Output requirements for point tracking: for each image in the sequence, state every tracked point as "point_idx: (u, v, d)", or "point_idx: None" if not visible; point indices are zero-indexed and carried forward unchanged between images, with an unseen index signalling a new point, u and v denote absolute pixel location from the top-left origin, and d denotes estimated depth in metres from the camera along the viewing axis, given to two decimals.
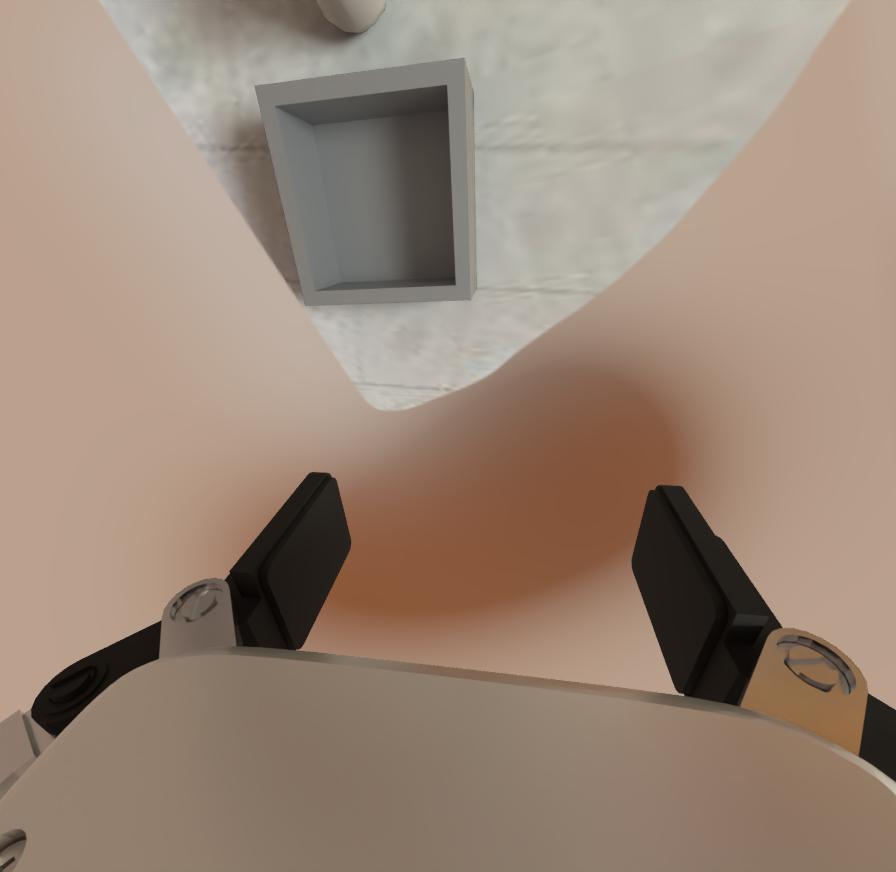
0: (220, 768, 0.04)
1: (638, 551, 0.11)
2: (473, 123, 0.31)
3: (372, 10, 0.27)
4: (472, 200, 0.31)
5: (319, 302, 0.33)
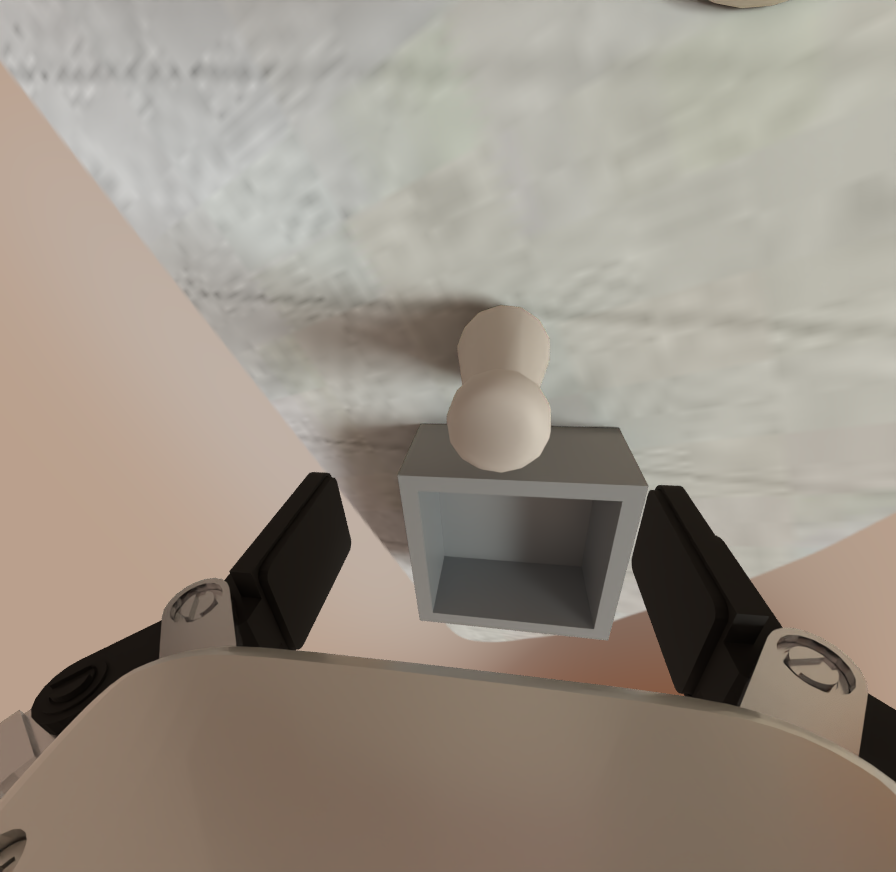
0: (220, 768, 0.04)
1: (638, 551, 0.11)
2: None
3: None
4: None
5: (436, 620, 0.31)
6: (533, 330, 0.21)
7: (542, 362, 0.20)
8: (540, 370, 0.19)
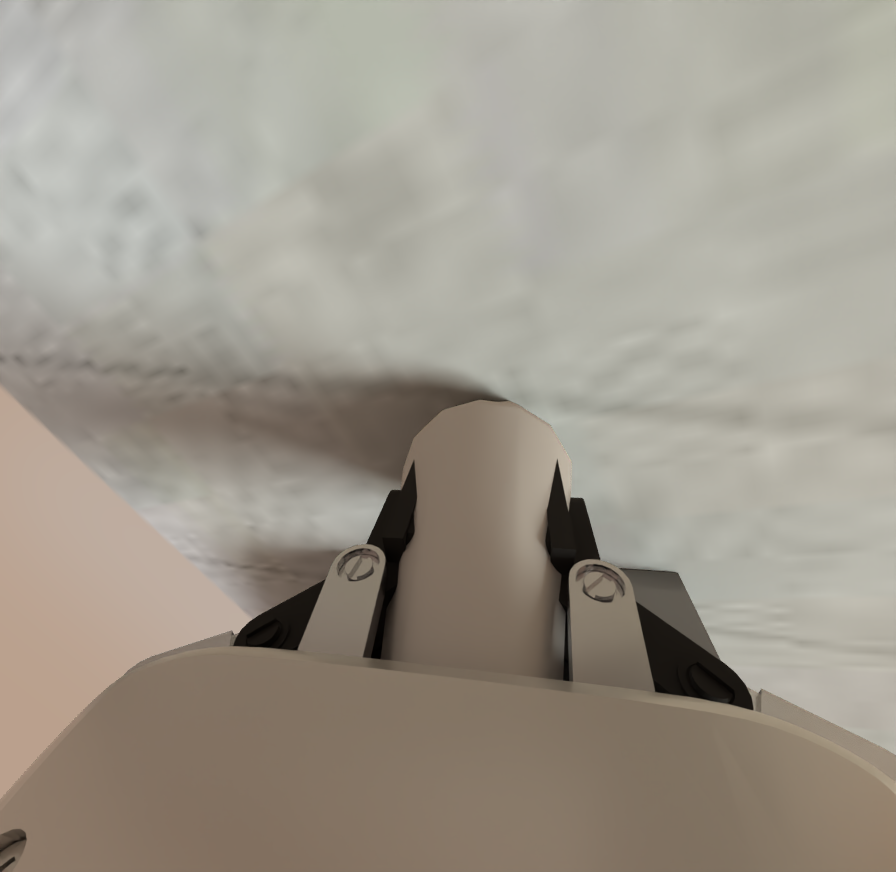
0: (220, 768, 0.04)
1: None
2: None
3: None
4: None
5: None
6: (544, 467, 0.10)
7: None
8: None
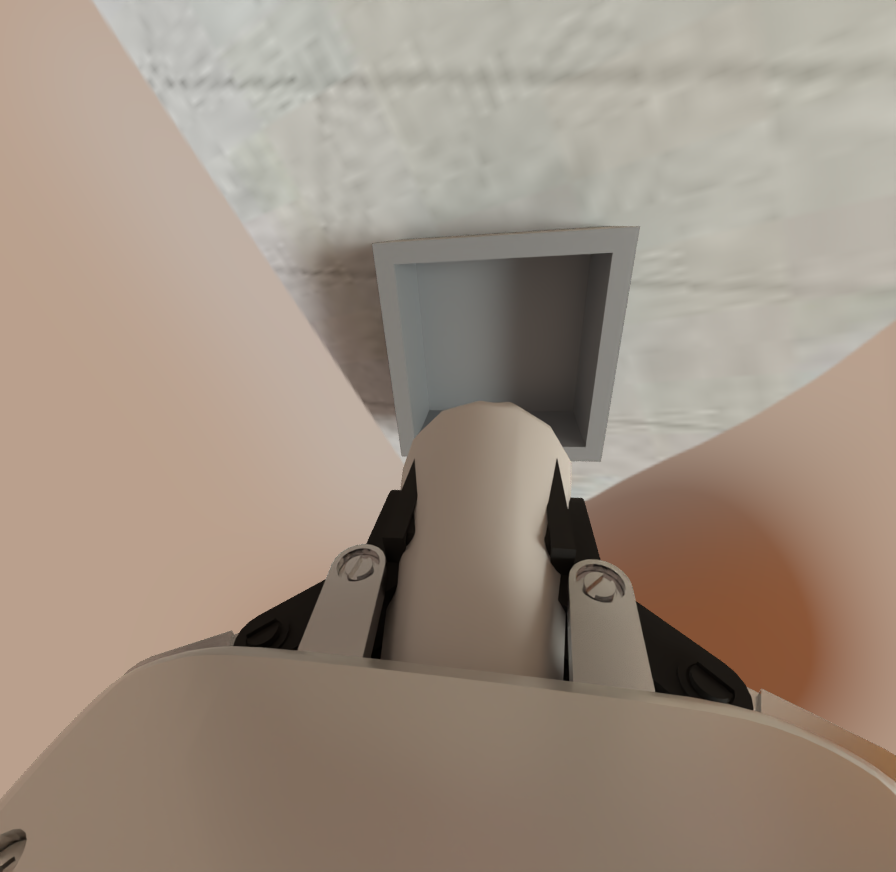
0: (220, 768, 0.04)
1: None
2: None
3: None
4: None
5: None
6: (544, 468, 0.10)
7: None
8: None
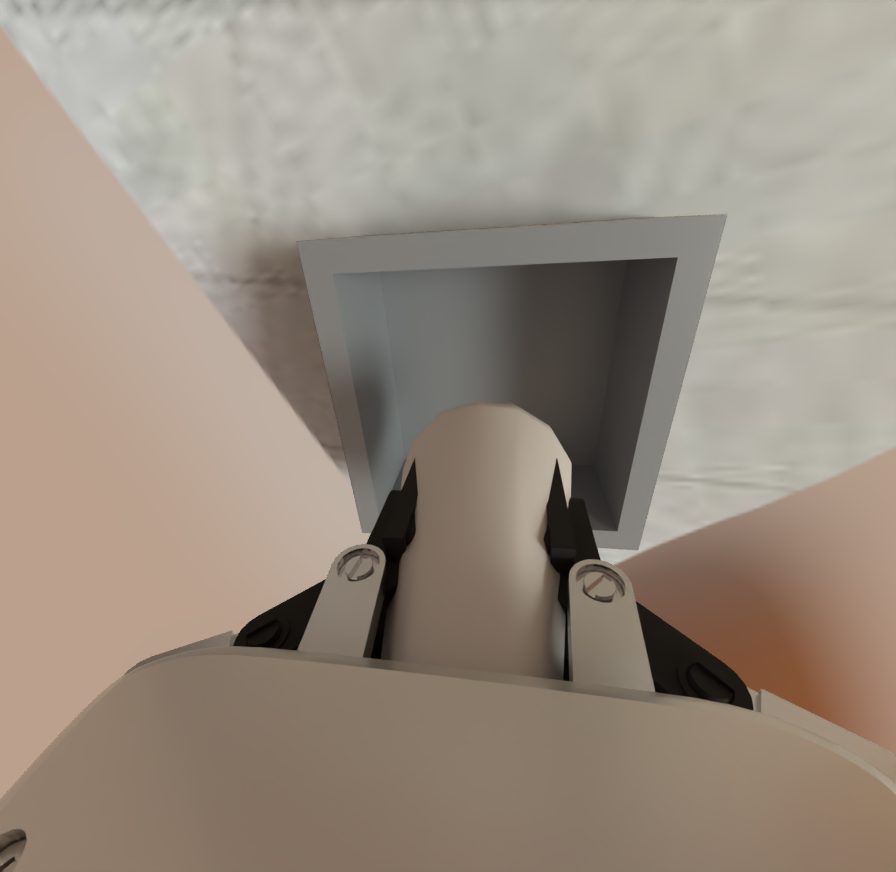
0: (220, 768, 0.04)
1: None
2: None
3: None
4: None
5: None
6: (544, 468, 0.10)
7: None
8: None
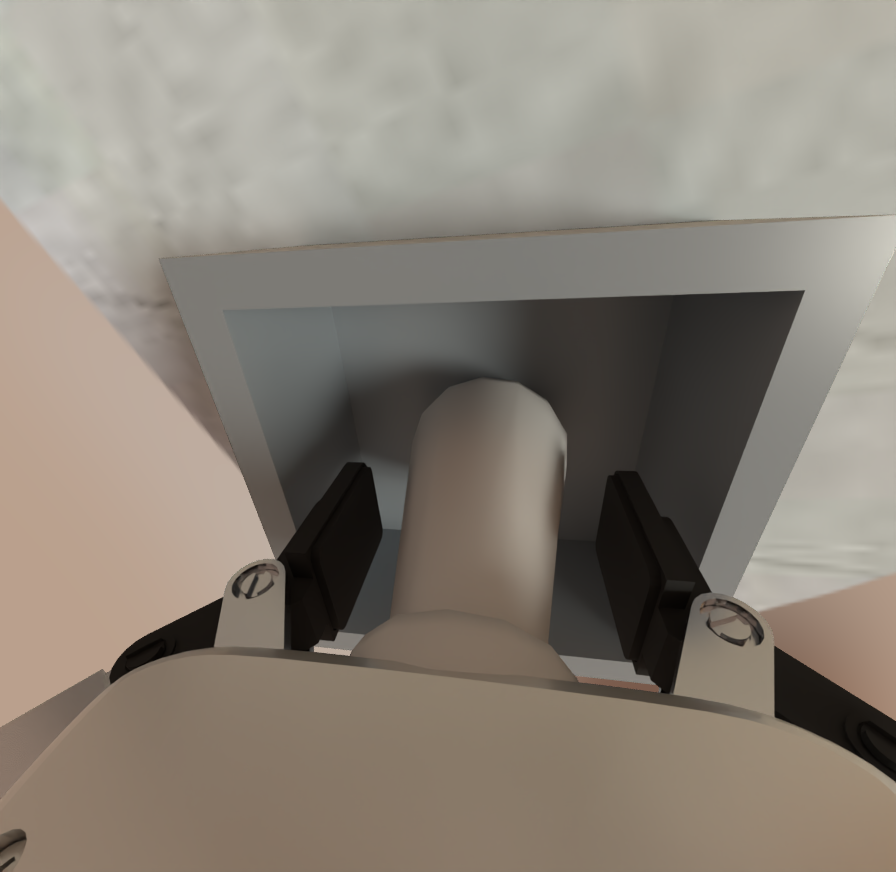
0: (220, 768, 0.04)
1: (600, 533, 0.11)
2: None
3: None
4: None
5: (339, 645, 0.16)
6: (540, 432, 0.11)
7: (558, 504, 0.10)
8: (555, 532, 0.09)
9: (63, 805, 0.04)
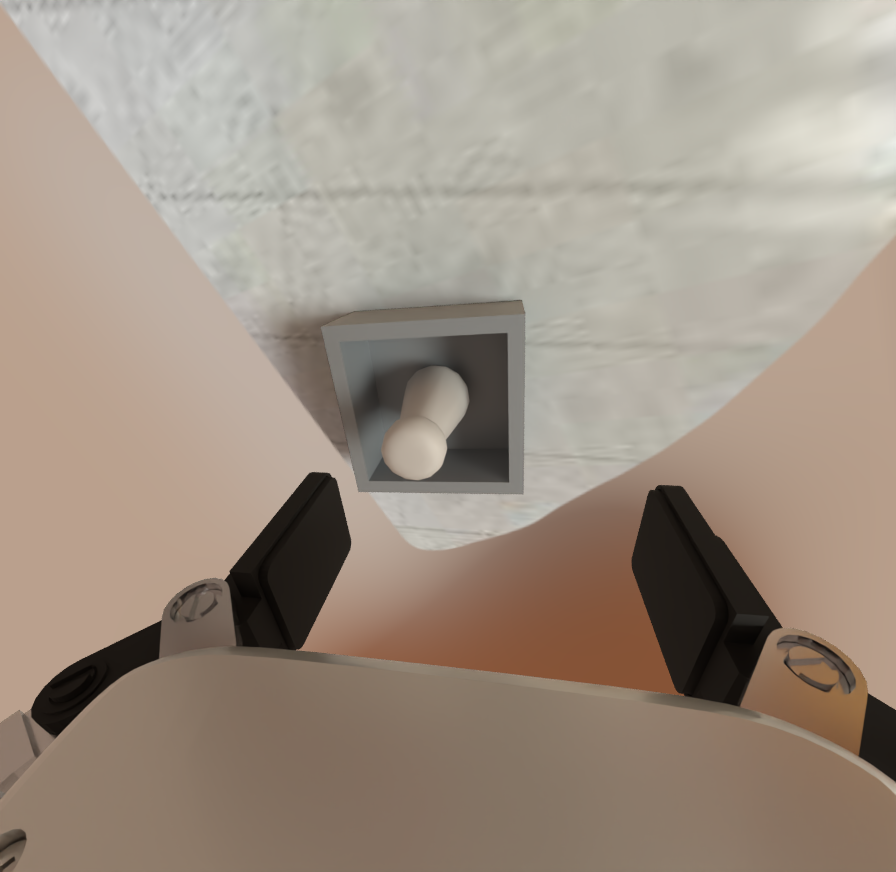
0: (220, 768, 0.04)
1: (638, 551, 0.11)
2: None
3: None
4: None
5: (372, 489, 0.34)
6: (451, 384, 0.30)
7: (454, 406, 0.29)
8: (450, 412, 0.28)
9: (63, 805, 0.04)
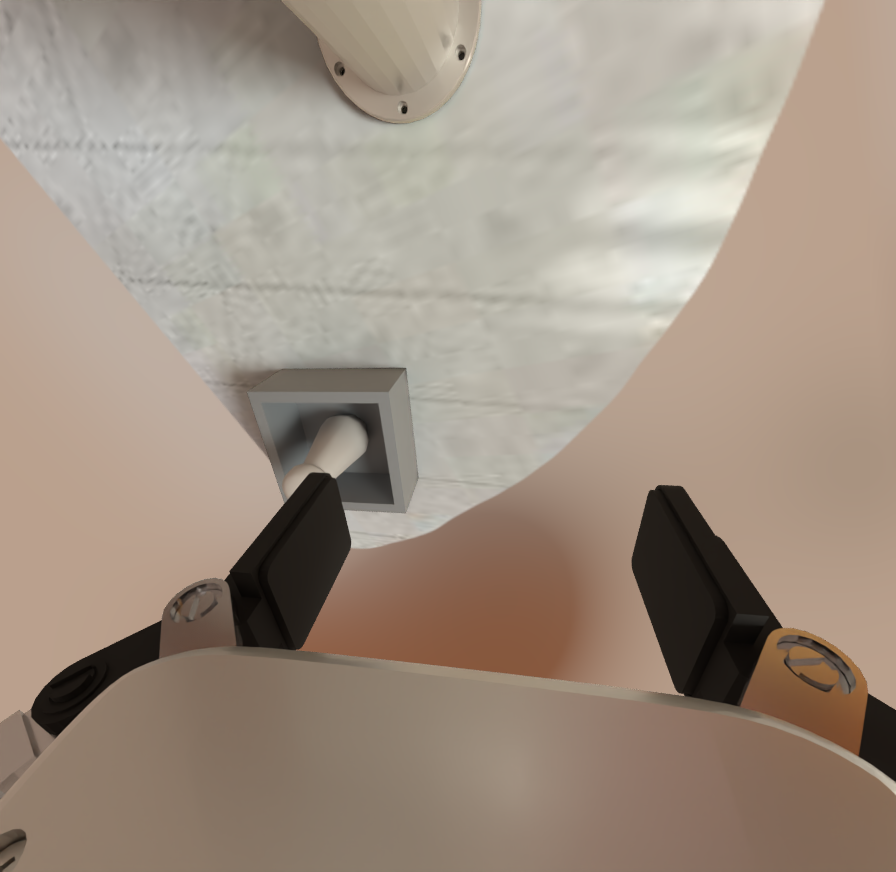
0: (220, 768, 0.04)
1: (638, 551, 0.11)
2: (407, 387, 0.42)
3: None
4: (407, 440, 0.43)
5: None
6: (348, 432, 0.41)
7: (347, 450, 0.39)
8: (341, 456, 0.39)
9: (63, 805, 0.04)
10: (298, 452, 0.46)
